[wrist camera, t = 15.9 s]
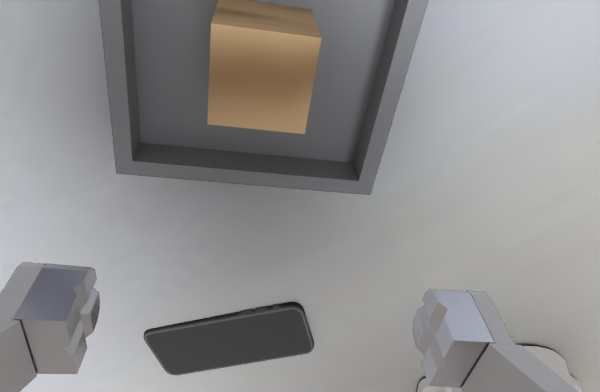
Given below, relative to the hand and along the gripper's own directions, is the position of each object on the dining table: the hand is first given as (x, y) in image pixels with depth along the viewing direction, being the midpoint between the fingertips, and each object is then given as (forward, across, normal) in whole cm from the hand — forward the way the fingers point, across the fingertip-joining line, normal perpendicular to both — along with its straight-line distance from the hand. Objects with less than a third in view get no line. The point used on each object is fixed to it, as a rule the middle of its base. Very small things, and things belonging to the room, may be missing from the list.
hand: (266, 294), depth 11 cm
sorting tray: (+19, 0, 0) cm, 19 cm away
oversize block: (+18, 0, 0) cm, 18 cm away
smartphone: (+20, 0, +28) cm, 34 cm away
